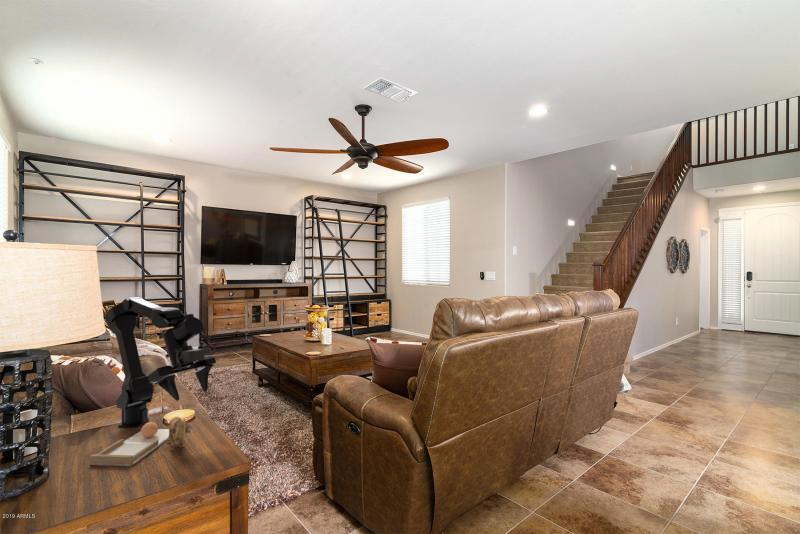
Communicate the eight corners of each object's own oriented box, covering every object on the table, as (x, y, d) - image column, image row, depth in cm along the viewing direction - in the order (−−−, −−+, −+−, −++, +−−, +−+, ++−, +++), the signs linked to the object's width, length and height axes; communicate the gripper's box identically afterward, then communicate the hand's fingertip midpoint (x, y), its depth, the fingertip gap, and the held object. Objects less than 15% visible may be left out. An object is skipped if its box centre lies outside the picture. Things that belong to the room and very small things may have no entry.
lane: (89, 464, 106) (89, 455, 106) (144, 430, 128) (144, 422, 128) (130, 466, 105) (130, 457, 105) (178, 431, 127) (178, 423, 127)
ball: (137, 440, 119) (137, 425, 119) (147, 433, 124) (147, 419, 124) (152, 440, 119) (152, 425, 119) (161, 434, 124) (161, 420, 124)
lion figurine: (193, 451, 115) (194, 420, 114) (172, 456, 111) (174, 425, 111) (178, 431, 126) (179, 403, 125) (159, 436, 122) (160, 407, 121)
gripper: (162, 342, 111) (178, 395, 108) (219, 332, 128) (234, 378, 125) (140, 356, 116) (155, 408, 113) (198, 345, 132) (213, 390, 129)
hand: (192, 395), depth 120 cm, fingers open, 9 cm apart
